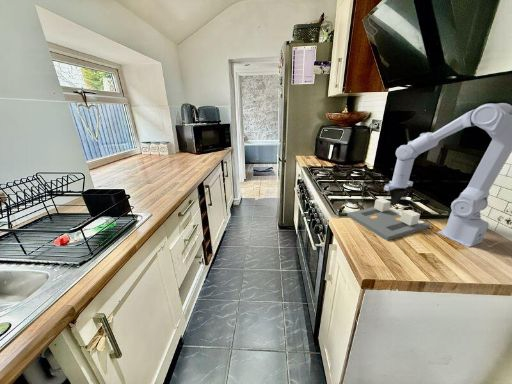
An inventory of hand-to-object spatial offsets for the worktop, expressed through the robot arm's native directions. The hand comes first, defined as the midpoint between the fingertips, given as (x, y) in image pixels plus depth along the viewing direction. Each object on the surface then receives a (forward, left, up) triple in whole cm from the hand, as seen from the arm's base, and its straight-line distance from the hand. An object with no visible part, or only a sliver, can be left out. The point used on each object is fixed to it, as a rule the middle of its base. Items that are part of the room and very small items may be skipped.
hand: (394, 203), depth 94 cm
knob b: (0, +7, -1) cm, 8 cm away
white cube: (-12, +7, -1) cm, 14 cm away
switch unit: (-6, +11, -3) cm, 13 cm away
